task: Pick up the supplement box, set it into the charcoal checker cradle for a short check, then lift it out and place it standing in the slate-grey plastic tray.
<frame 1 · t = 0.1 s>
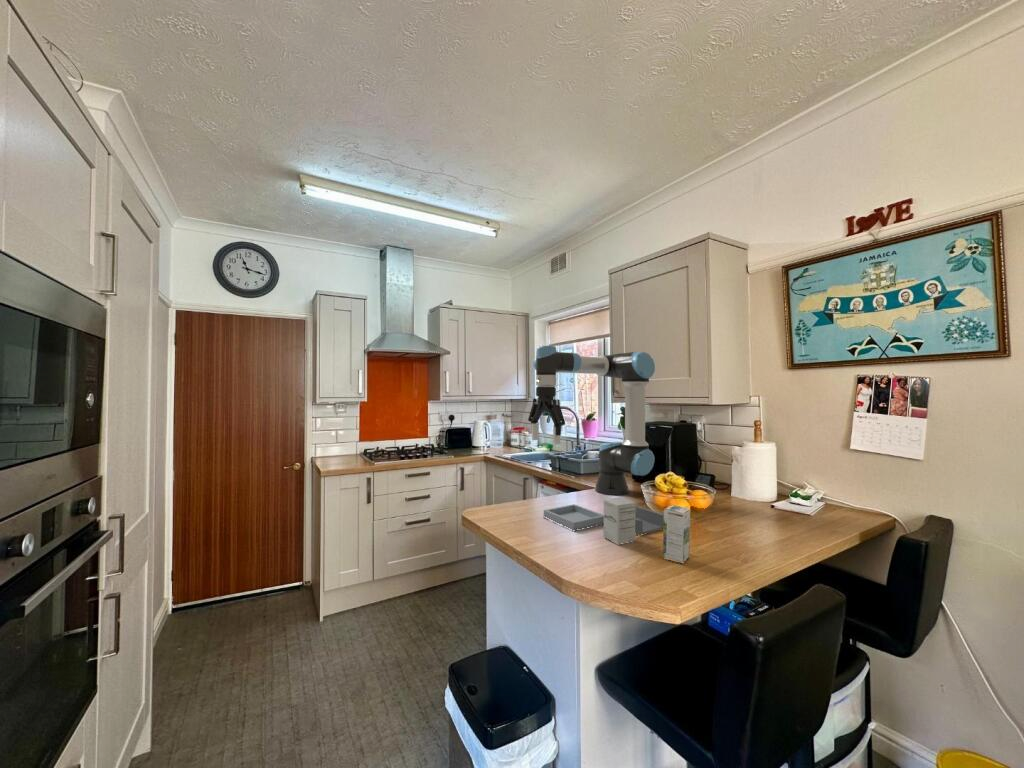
hand: (545, 442, 158), 28 cm above the worktop, tool pointing down, fingers open, 13 cm apart
tray: (573, 521, 152), on the worktop
syrup box: (676, 559, 119), on the worktop
checker cradle: (636, 526, 146), on the worktop
supplement box: (619, 540, 133), on the worktop
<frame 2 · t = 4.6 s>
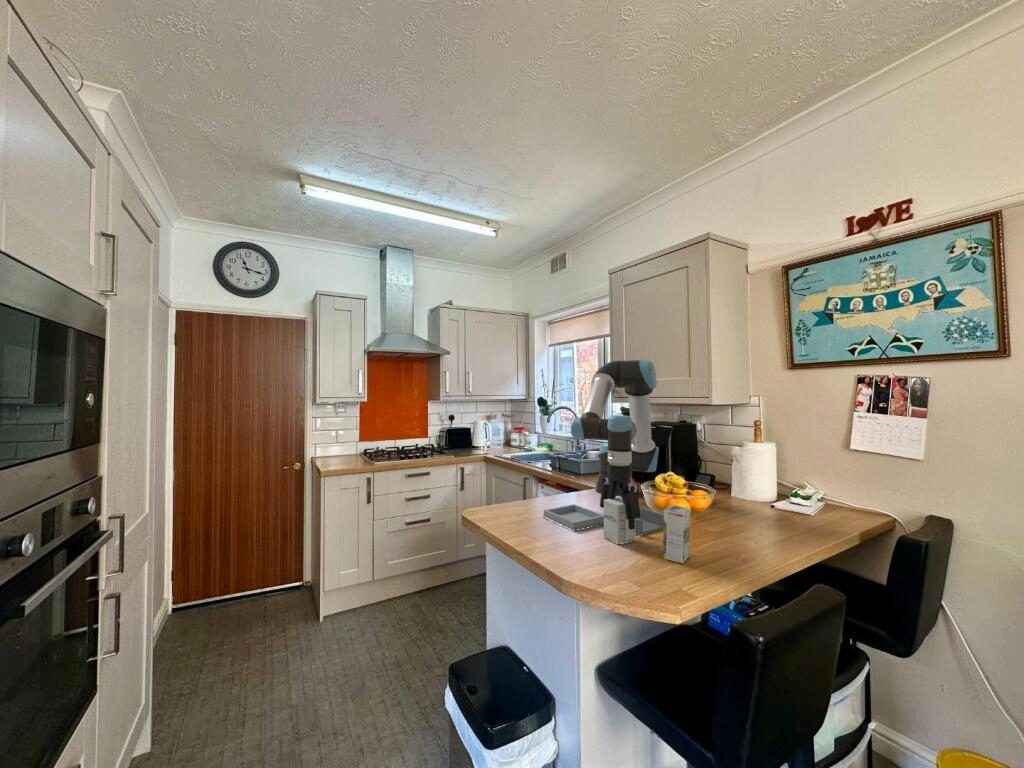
hand: (619, 534, 133), 2 cm above the worktop, tool pointing down, fingers closed on supplement box, 8 cm apart
supplement box: (619, 540, 133), on the worktop, touching gripper
everything else where it was.
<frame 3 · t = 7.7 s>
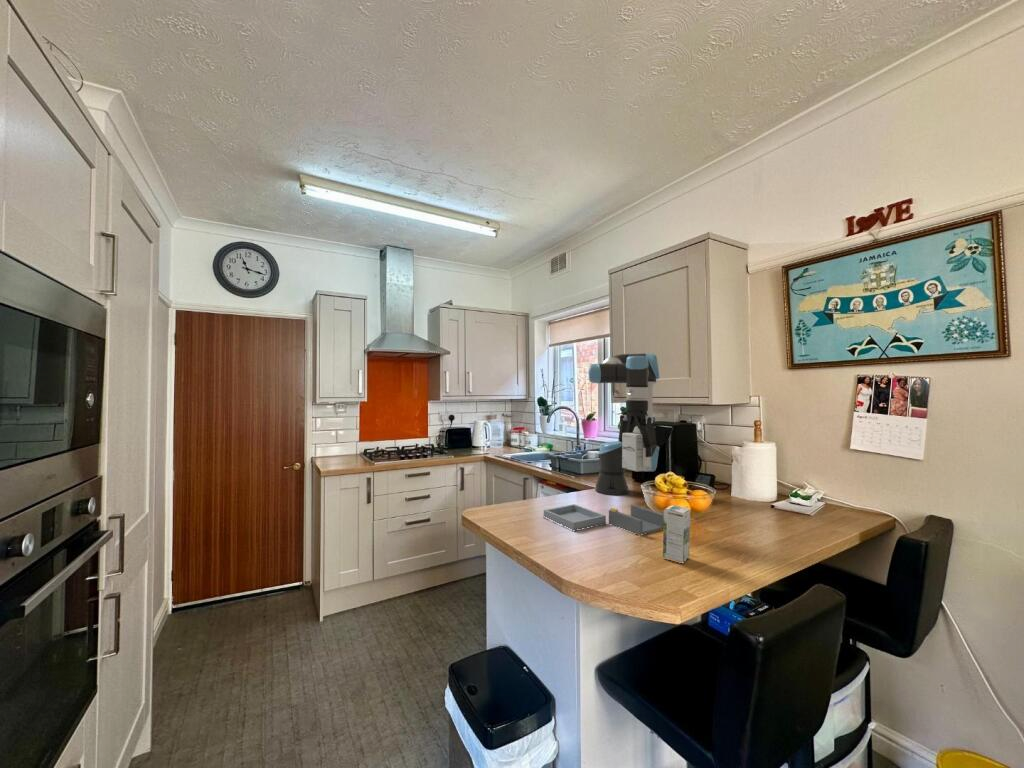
hand: (636, 464, 146), 22 cm above the worktop, tool pointing down, fingers closed on supplement box, 8 cm apart
supplement box: (636, 469, 146), point 20 cm above the worktop, touching gripper
everything else where it was.
when the fingers open (5 cm above the worktop, at t = 11.1 s): supplement box drops 2 cm, resting on checker cradle.
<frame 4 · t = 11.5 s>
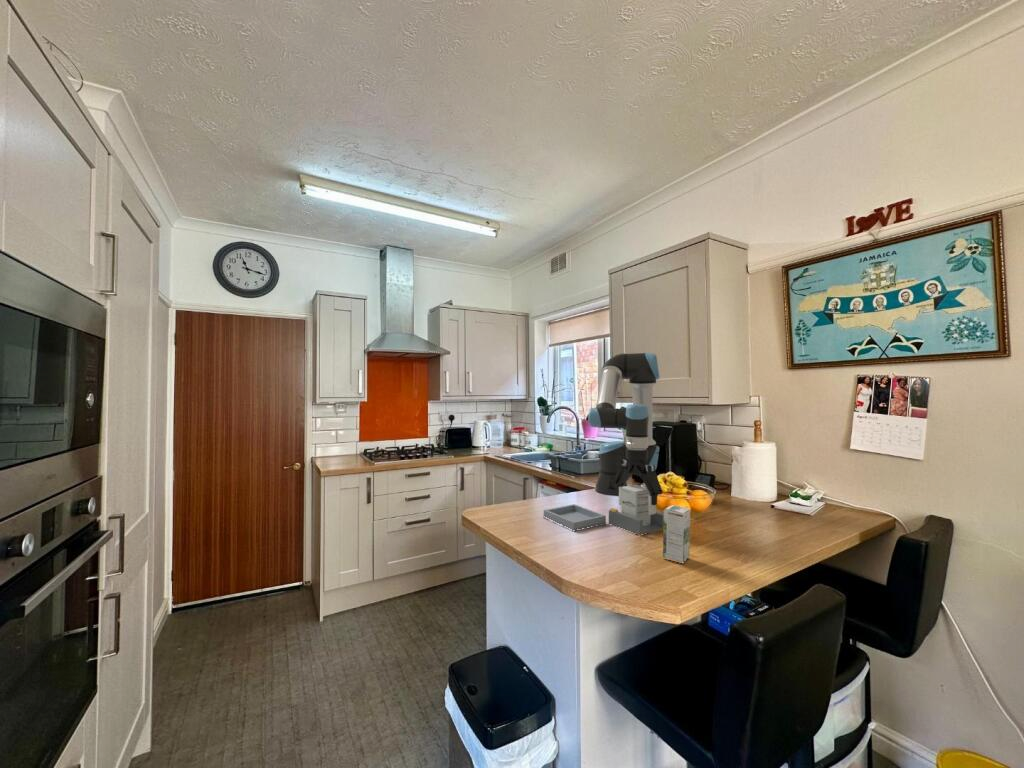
hand: (636, 509, 146), 6 cm above the worktop, tool pointing down, fingers open, 13 cm apart
supplement box: (635, 524, 146), point 1 cm above the worktop, touching checker cradle
everything else where it was.
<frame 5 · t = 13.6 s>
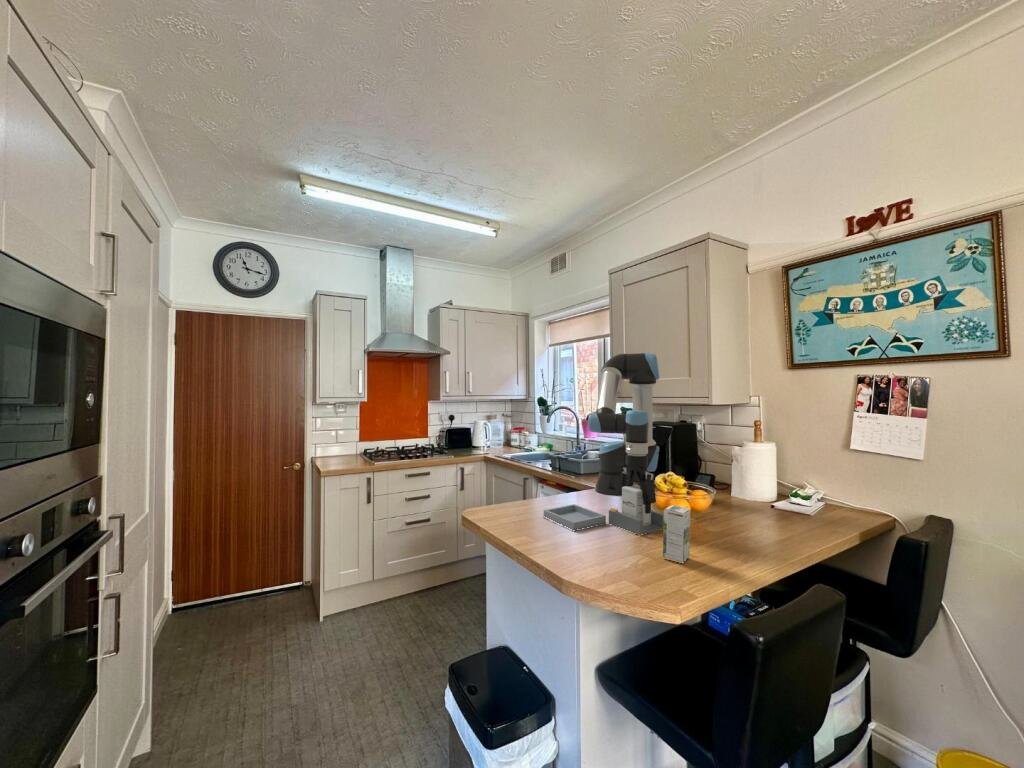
hand: (636, 518, 146), 3 cm above the worktop, tool pointing down, fingers closed on supplement box, 7 cm apart
supplement box: (636, 524, 146), point 1 cm above the worktop, touching checker cradle, gripper
everything else where it was.
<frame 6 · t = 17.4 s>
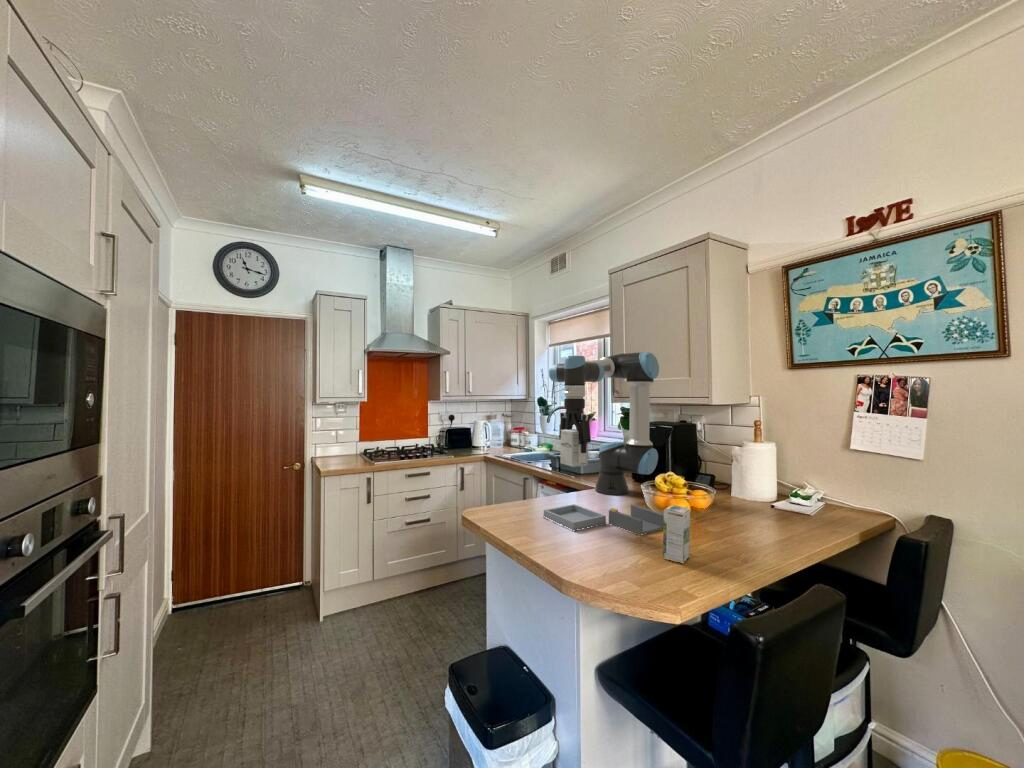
hand: (574, 460, 152), 22 cm above the worktop, tool pointing down, fingers closed on supplement box, 7 cm apart
supplement box: (574, 465, 152), point 20 cm above the worktop, touching gripper
everything else where it was.
when the fingers open (4 cm above the worktop, at t = 21.0 s): supplement box drops 1 cm, resting on tray.
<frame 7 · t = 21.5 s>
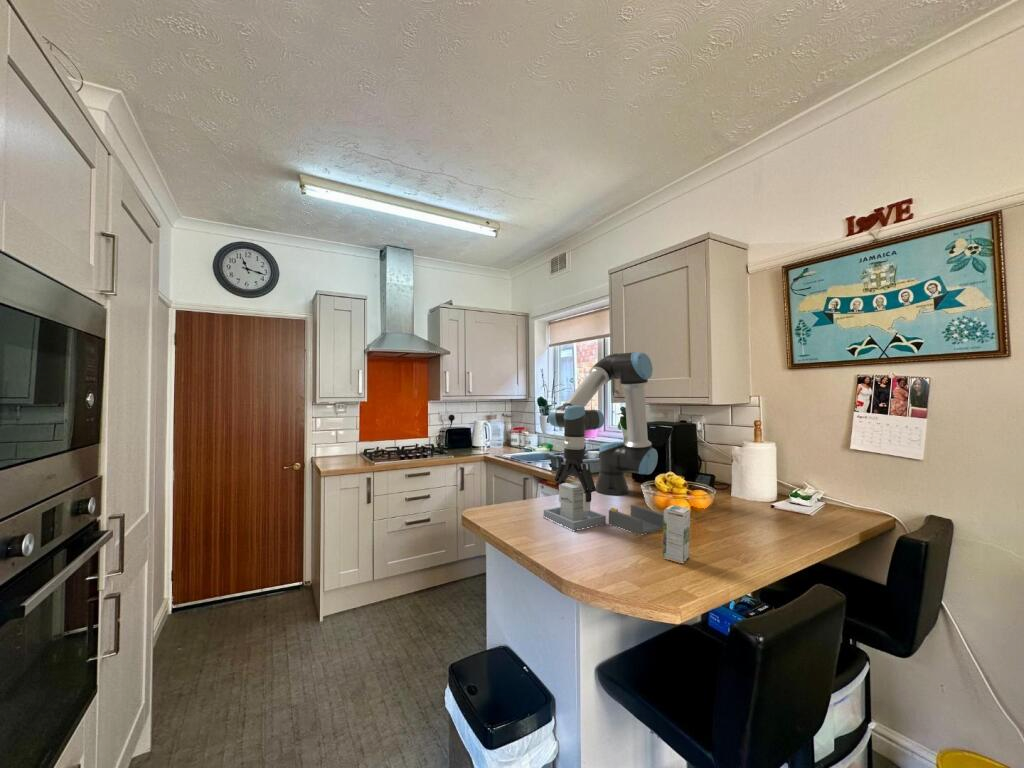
hand: (574, 506, 152), 5 cm above the worktop, tool pointing down, fingers open, 13 cm apart
supplement box: (574, 519, 152), point 1 cm above the worktop, touching tray
everything else where it was.
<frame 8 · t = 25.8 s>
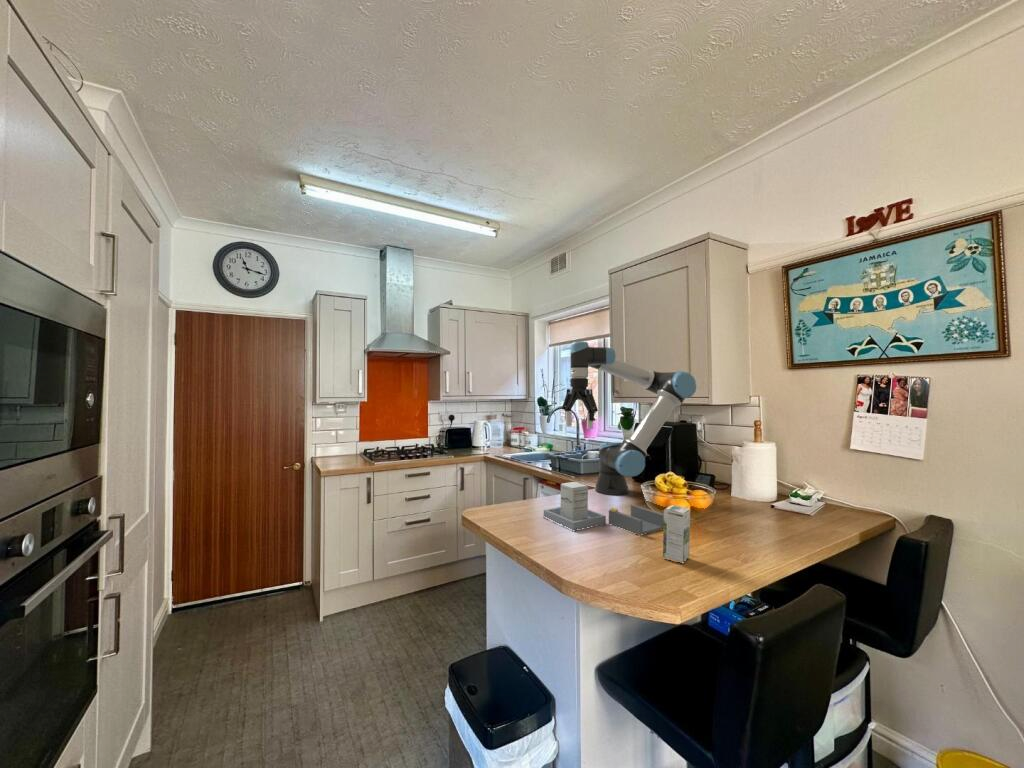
hand: (579, 427, 178), 32 cm above the worktop, tool pointing down, fingers open, 13 cm apart
nothing on the worktop moved.
at the end: supplement box inside the target area on the tray (0.1 cm from its centre), point 0.6 cm above the tray's base; supplement box tilted 0°; the gripper is holding nothing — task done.
